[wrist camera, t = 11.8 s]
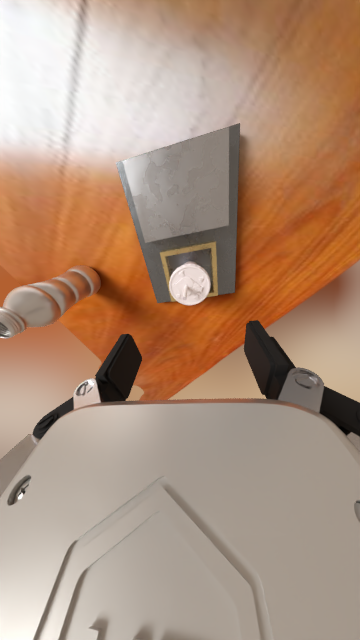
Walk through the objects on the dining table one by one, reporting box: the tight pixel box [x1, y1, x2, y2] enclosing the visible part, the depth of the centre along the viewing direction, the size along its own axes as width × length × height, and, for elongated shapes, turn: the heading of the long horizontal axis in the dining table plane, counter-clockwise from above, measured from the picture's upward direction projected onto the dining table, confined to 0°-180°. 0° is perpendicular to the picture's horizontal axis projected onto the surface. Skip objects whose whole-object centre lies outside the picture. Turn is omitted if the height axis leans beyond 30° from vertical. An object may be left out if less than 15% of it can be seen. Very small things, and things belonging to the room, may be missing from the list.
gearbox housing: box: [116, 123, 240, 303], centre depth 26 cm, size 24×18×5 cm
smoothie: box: [169, 261, 210, 305], centre depth 24 cm, size 6×6×14 cm
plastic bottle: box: [0, 265, 101, 338], centre depth 26 cm, size 6×7×20 cm
